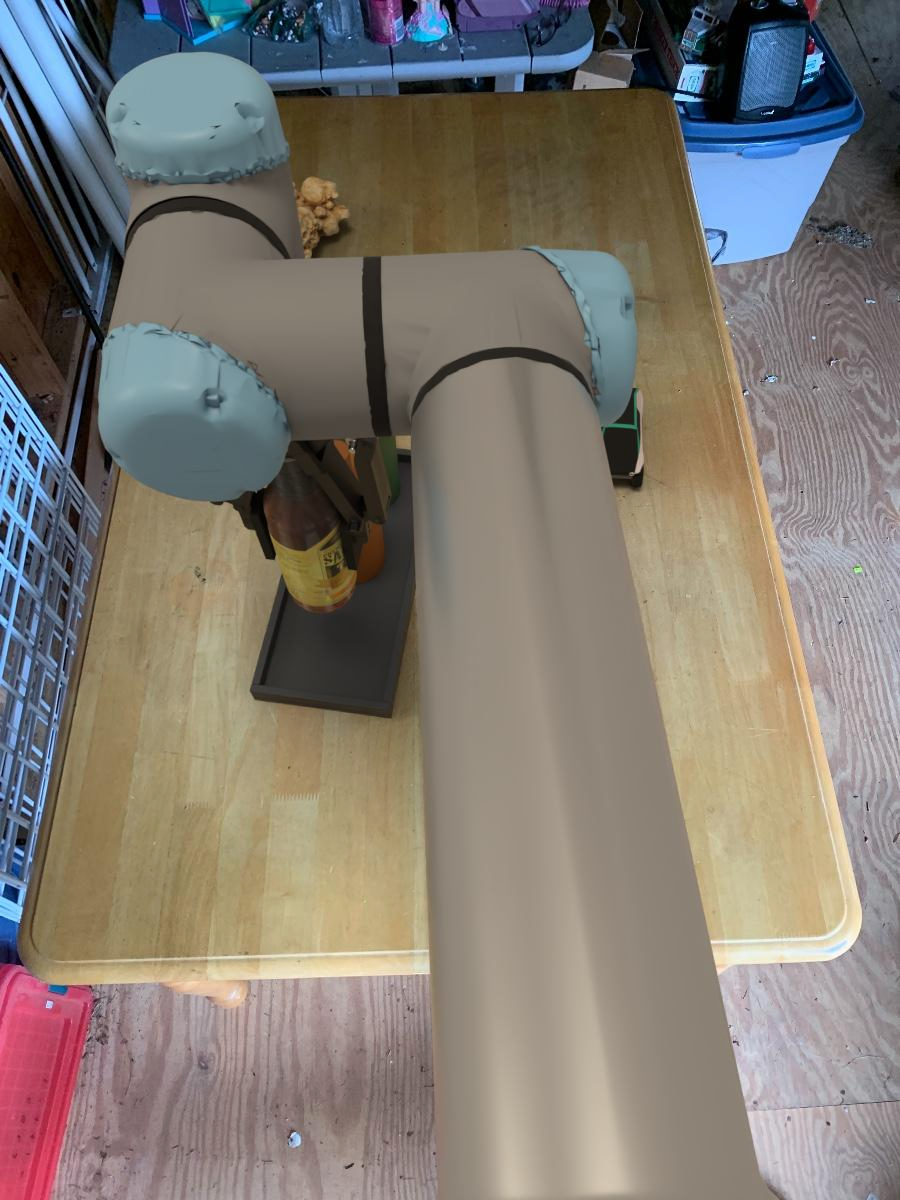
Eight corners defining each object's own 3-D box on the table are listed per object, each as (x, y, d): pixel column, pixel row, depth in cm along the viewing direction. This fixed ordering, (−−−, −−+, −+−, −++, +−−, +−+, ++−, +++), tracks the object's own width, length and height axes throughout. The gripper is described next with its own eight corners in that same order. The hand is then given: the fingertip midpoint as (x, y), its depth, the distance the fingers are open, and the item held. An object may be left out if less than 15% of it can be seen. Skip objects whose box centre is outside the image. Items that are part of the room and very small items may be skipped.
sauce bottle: (350, 621, 73) (319, 489, 56) (281, 611, 74) (228, 477, 56) (365, 558, 76) (340, 413, 59) (299, 549, 77) (254, 402, 59)
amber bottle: (379, 587, 86) (363, 485, 70) (319, 580, 87) (289, 477, 71) (390, 536, 89) (377, 426, 73) (331, 528, 90) (306, 418, 74)
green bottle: (394, 515, 90) (382, 404, 74) (336, 508, 91) (312, 396, 75) (404, 468, 93) (395, 351, 77) (348, 462, 94) (327, 344, 78)
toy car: (637, 409, 98) (647, 378, 94) (639, 493, 93) (649, 464, 88) (587, 406, 99) (594, 374, 94) (586, 489, 93) (593, 460, 88)
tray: (391, 718, 80) (389, 710, 78) (254, 699, 81) (249, 691, 79) (438, 465, 95) (438, 452, 93) (321, 451, 96) (318, 438, 93)
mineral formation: (301, 285, 108) (208, 239, 111) (358, 240, 115) (270, 197, 118) (300, 228, 101) (201, 180, 104) (361, 184, 109) (267, 140, 111)
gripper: (429, 320, 50) (435, 527, 71) (122, 287, 52) (215, 500, 72) (408, 416, 47) (421, 605, 67) (80, 378, 48) (190, 575, 69)
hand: (314, 550), depth 70 cm, fingers closed on sauce bottle, 6 cm apart
